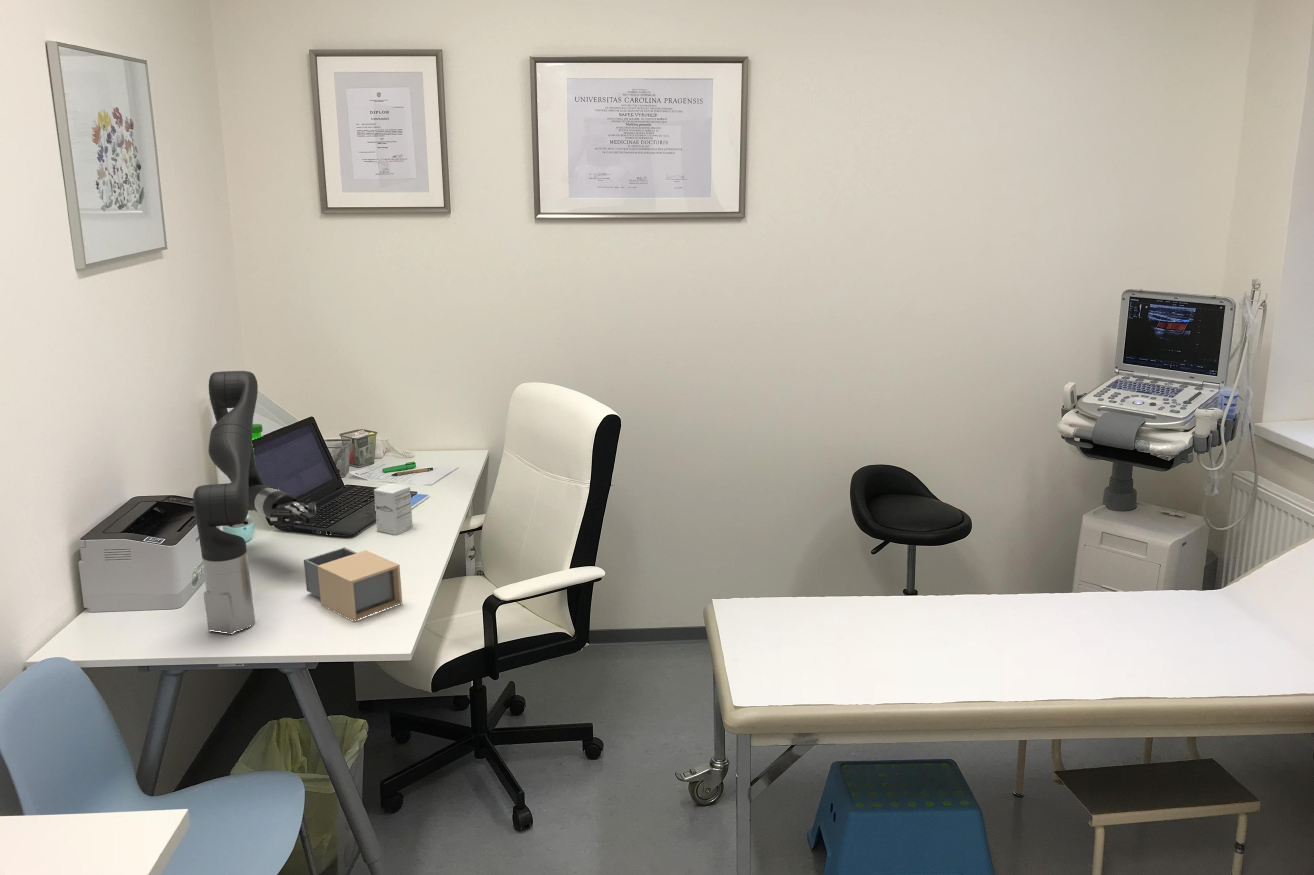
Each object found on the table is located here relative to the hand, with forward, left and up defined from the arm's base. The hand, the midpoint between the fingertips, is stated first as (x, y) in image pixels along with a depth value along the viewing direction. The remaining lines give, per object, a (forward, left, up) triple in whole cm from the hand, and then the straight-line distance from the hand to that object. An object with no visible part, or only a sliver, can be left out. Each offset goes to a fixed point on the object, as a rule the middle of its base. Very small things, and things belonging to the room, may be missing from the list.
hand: (311, 520), depth 248 cm
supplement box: (+39, 0, -17) cm, 42 cm away
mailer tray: (-7, -13, -15) cm, 21 cm away
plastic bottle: (+49, +50, -17) cm, 72 cm away
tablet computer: (+59, +10, -17) cm, 62 cm away
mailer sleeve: (-9, -17, -16) cm, 26 cm away
